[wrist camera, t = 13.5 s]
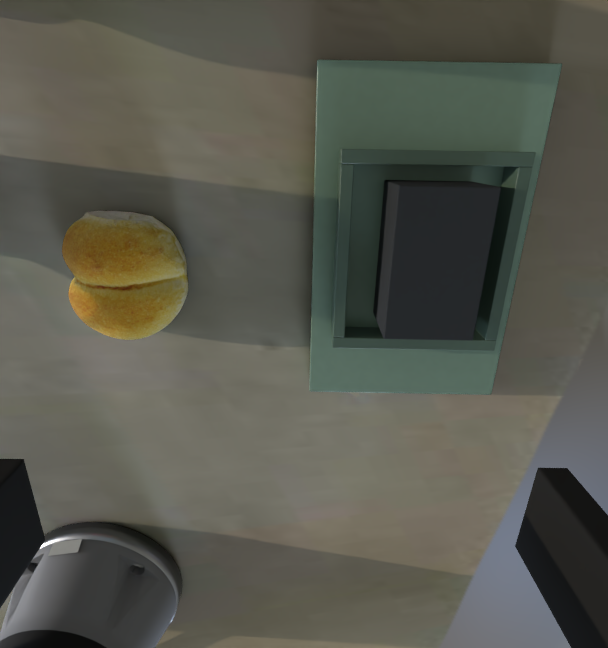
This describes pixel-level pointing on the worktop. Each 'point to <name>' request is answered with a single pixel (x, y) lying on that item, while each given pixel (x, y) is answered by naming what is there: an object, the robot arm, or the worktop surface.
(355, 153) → the base pad
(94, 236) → the bread roll
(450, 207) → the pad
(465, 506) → the worktop surface
